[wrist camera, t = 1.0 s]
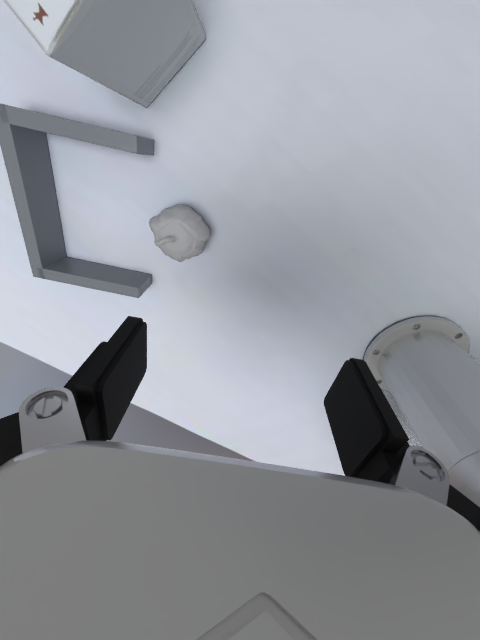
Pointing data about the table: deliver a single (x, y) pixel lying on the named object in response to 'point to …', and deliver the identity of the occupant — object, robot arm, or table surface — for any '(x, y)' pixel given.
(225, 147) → the table surface
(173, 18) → the supplement box
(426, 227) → the table surface
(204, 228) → the garlic
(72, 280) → the box
